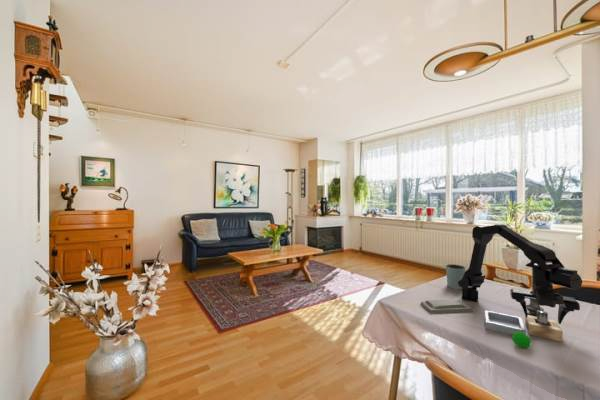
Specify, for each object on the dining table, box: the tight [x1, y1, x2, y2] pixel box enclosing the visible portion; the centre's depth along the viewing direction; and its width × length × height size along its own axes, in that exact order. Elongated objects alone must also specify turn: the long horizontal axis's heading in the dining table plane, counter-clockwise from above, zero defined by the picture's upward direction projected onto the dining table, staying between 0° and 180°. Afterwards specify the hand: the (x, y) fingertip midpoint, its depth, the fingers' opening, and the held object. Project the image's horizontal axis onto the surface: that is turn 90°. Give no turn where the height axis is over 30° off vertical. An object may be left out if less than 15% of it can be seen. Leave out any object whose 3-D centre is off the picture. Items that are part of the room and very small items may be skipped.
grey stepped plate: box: [420, 299, 474, 315], centre depth 118 cm, size 10×20×4 cm, turn 92°
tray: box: [484, 309, 527, 336], centre depth 101 cm, size 12×12×3 cm
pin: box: [537, 310, 549, 325], centre depth 96 cm, size 3×3×8 cm
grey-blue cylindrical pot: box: [445, 263, 467, 290], centre depth 145 cm, size 10×10×12 cm
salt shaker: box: [526, 290, 545, 317], centre depth 109 cm, size 6×6×12 cm
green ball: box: [512, 332, 532, 349], centre depth 88 cm, size 5×5×5 cm
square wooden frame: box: [524, 315, 563, 343], centre depth 96 cm, size 9×9×4 cm
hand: (542, 320), depth 96 cm, fingers open, 9 cm apart
